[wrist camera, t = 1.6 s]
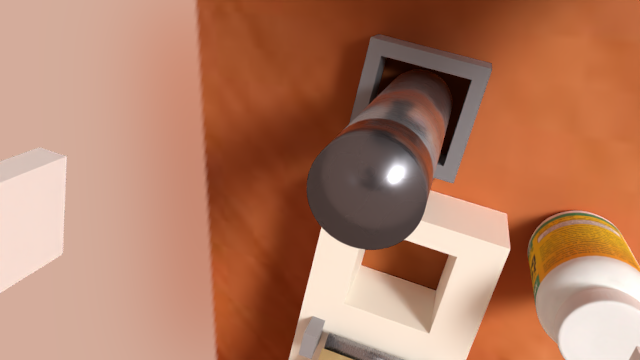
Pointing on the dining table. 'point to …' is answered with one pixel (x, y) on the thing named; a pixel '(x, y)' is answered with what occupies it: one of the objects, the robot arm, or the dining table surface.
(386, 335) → the socket block
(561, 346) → the supplement bottle
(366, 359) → the brass flap
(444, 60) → the stand collar
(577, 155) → the dining table surface
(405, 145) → the steel pin
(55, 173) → the robot arm
